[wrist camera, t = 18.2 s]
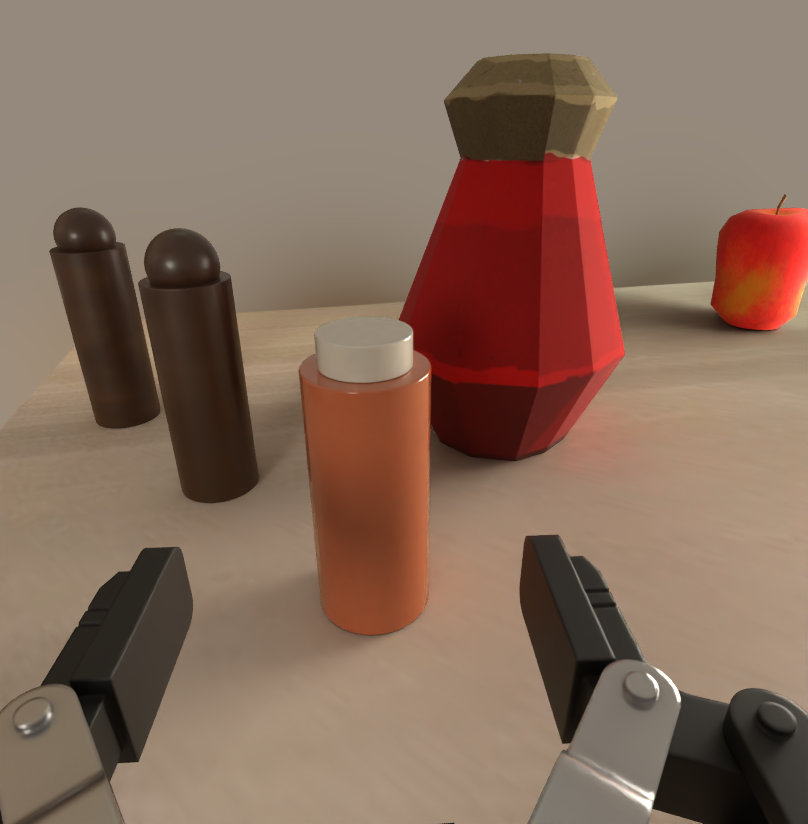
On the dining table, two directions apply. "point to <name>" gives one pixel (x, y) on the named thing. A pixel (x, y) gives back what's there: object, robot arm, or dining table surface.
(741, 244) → the apple
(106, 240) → the post
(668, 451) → the dining table surface
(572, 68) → the bottle
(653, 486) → the dining table surface
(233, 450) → the post
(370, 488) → the shaker
